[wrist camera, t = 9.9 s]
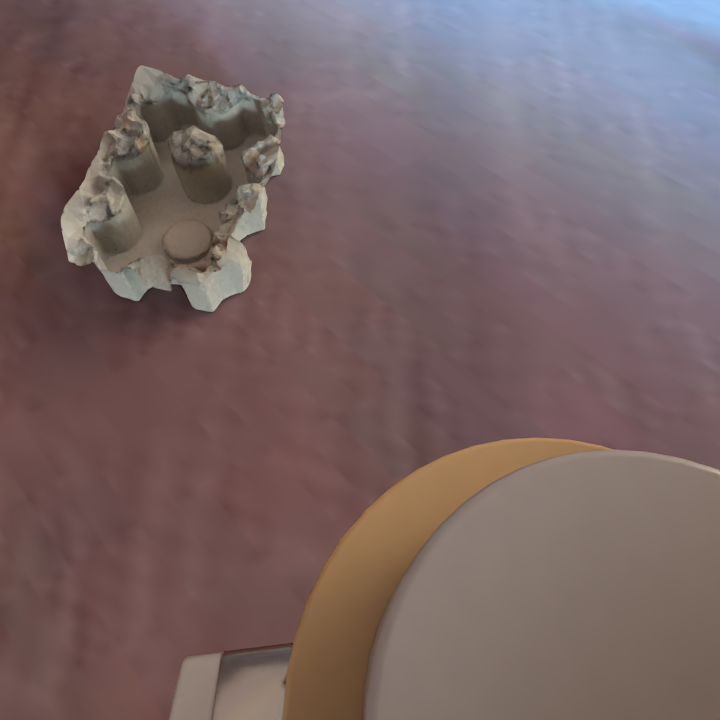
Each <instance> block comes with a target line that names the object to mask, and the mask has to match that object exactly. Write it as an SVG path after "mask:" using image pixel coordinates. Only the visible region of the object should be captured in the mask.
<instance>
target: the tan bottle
mask: <svg viewBox="0 0 720 720" xmlns="http://www.w3.org/2000/svg"><path fill="white" fill-rule="evenodd" d="M282 720H720V470H718V469H715V468H712V467H708V466H705V465H702V464H699V463H695V462H692V461H689V460H686V459H682V458H678V457H672V456H667V455H661V454H656V453H650V452H644V451H628V450H613V449H610V448H606V447H603V446H600V445H595V444H589V443H584V442H578V441H573V440H567V439H550V438H523V439H508V440H501V441H496V442H490V443H485V444H480V445H475V446H472V447H469V448H466V449H463V450H460V451H457V452H454V453H451V454H448V455H445V456H443V457H441V458H439V459H437V460H435V461H433V462H431V463H429V464H427V465H425V466H423V467H421V468H419V469H417V470H415V471H414V472H412V473H411V474H409V475H408V476H407V477H405V478H404V479H402V480H401V481H399V482H398V483H396V484H395V485H393V486H392V487H390V488H389V489H388V490H387V491H386V492H385V493H384V494H382V495H381V496H380V497H379V498H378V499H377V500H376V501H375V502H373V503H372V504H371V505H370V506H369V507H368V508H367V509H366V510H365V511H364V512H363V513H362V514H361V515H360V517H359V518H358V519H357V520H356V521H355V522H354V524H353V525H352V526H351V527H350V528H349V529H348V531H347V532H346V533H345V534H344V535H343V537H342V538H341V540H340V541H339V543H338V544H337V546H336V547H335V549H334V551H333V552H332V554H331V555H330V557H329V558H328V560H327V561H326V563H325V564H324V566H323V568H322V570H321V572H320V574H319V576H318V578H317V580H316V582H315V584H314V587H313V589H312V591H311V593H310V595H309V597H308V599H307V602H306V605H305V608H304V611H303V614H302V616H301V619H300V622H299V625H298V628H297V631H296V634H295V638H294V643H293V647H292V652H291V656H290V661H289V666H288V670H287V676H286V686H285V696H284V706H283V716H282Z"/></svg>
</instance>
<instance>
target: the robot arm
mask: <svg viewBox="0 0 720 720" xmlns="http://www.w3.org/2000/svg"><path fill="white" fill-rule="evenodd" d="M292 647H293V643H288V644H280V645H272V646H264V647H256V648H247V649H239V650H231V651H224V653H215V654H206V655H197V656H189V657H186V658H185V659H184V661H183V663H182V665H181V666H180V670H179V674H178V679H177V683H176V688H175V692H174V697H173V702H172V706H171V711H170V715H169V720H282V716H283V706H284V696H285V686H286V676H287V670H288V666H289V661H290V656H291V652H292Z"/></svg>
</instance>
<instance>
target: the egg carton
mask: <svg viewBox="0 0 720 720" xmlns="http://www.w3.org/2000/svg"><path fill="white" fill-rule="evenodd" d="M283 102H284V101H283V99H282V98H281V97H280V96H279V95H278V94H271V95H270V97H269V98H261V97H257V96H255V95H253V94H250V93H249V92H248V91H247V89H246V88H245V87H244V86H242V85H240V84H237V85H235V86H232V87H225V86H222V85H220V84H218V83H217V82H215V81H213V80H211V81H204V80H201V79H199V78H196V77H193V76H191V75H189V74H186V76H185V77H183V78H178V79H176V78H174V77H172V76H171V75H169V74H167V73H165V72H162V71H159V70H156V69H153V68H149V67H146V66H142V65H140V66H139V67H138V68H137V71H136V74H135V76H134V79H133V82H132V85H131V87H130V90H129V93H128V95H127V97H126V99H125V105H124V110H123V112H122V114H120V115H117V116H116V118H115V128H114V129H113V130H109V131H105V132H104V134H103V137H102V141H101V144H100V148H99V150H98V152H97V155H96V156H95V158H94V160H93V161H92V163H91V164H90V166H89V168H88V171H87V174H86V177H85V180H84V181H83V183H82V184H81V186H80V187H79V189H78V190H77V191H76V193H75V194H74V195H73V197H72V198H71V199H70V200H69V202H68V203H67V204H66V206H65V208H64V211H63V214H62V216H61V230H62V234H63V238H64V242H65V246H66V251H67V255H68V259H69V261H70V262H71V263H73V264H75V265H79V266H82V265H86V264H90V263H91V262H94V263H95V264H96V266H97V267H98V269H99V270H100V271H101V272H102V273H103V275H104V277H105V279H106V281H107V282H108V284H109V285H110V286H111V288H112V289H113V291H114V292H115V293H116V294H117V295H119V296H121V297H124V298H129V299H131V300H133V301H139V300H140V299H141V298H142V296H143V295H144V293H145V292H146V291H147V290H148V289H149V288H151V287H154V288H158V289H162V290H167V291H172V286H171V284H179V285H182V287H183V289H184V290H185V292H186V294H187V297H188V299H189V301H190V303H191V305H192V307H194V308H195V309H197V310H204V311H209V312H213V311H214V310H216V308H217V307H218V305H219V304H220V303H221V301H222V300H223V299H225V298H227V297H229V296H231V295H233V294H236V293H241V292H243V291H244V290H245V289H246V288H247V287H248V285H249V283H250V280H251V264H252V261H250V260H249V258H248V256H247V251H246V249H245V247H244V245H243V244H242V243H241V242H240V240H241V239H243V238H244V237H245V236H247V235H249V234H251V233H254V232H257V231H260V230H264V229H265V219H266V215H267V211H266V205H267V195H266V191H265V185H266V184H267V182H268V180H269V178H270V177H271V176H274V175H280V173H281V171H282V169H283V167H284V157H283V153H282V151H281V149H280V141H281V137H282V127H283V126H285V118H284V114H283Z"/></svg>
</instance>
